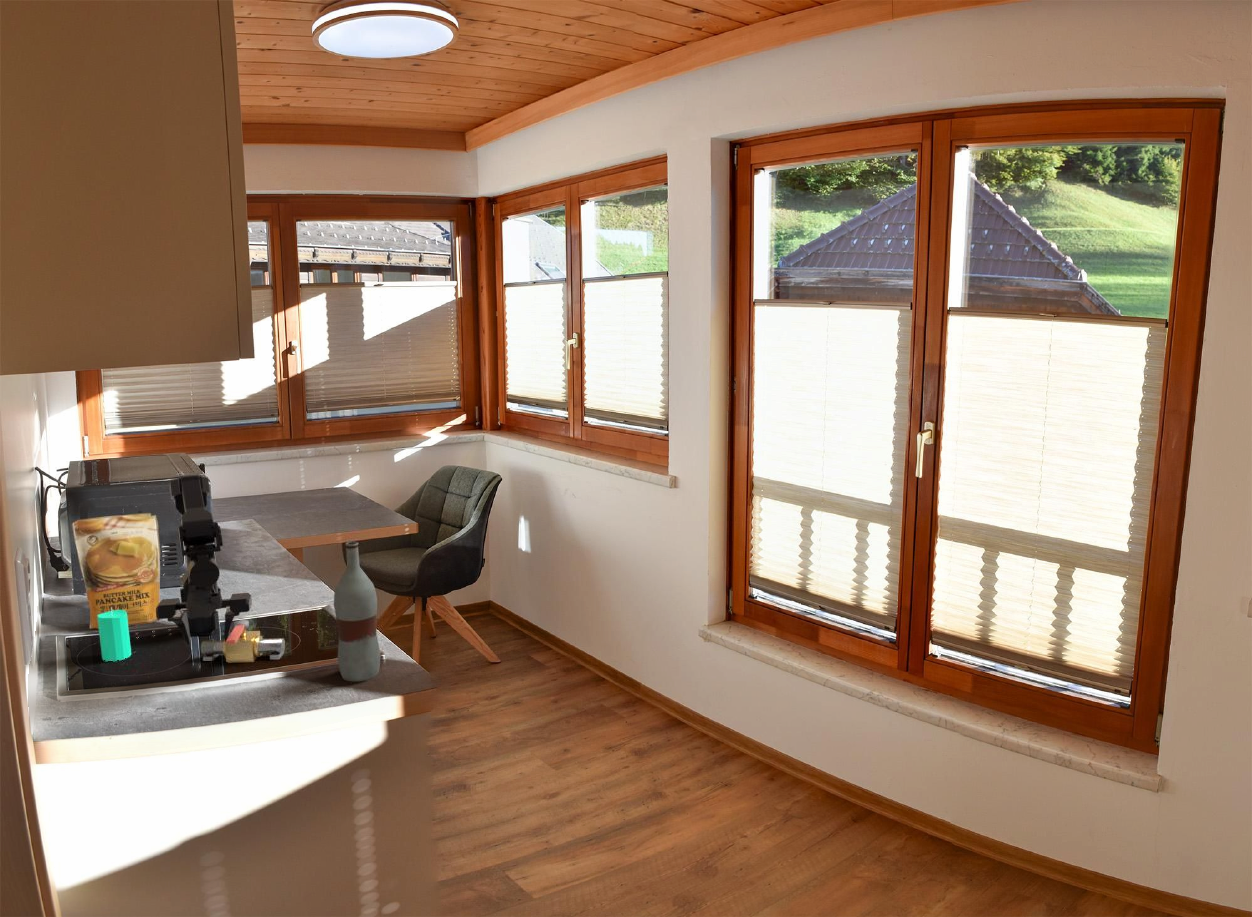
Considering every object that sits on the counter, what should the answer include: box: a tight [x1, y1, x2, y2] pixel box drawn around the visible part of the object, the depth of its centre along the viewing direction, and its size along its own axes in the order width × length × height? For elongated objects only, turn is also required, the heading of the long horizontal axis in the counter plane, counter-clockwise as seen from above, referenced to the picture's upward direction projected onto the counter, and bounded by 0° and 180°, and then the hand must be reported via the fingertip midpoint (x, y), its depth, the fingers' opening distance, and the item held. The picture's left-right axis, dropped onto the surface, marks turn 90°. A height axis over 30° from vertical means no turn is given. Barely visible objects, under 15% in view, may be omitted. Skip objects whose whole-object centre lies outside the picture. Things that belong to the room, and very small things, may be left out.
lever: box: [226, 619, 250, 644], centre depth 214 cm, size 12×3×1 cm, turn 10°
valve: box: [200, 628, 286, 664], centre depth 219 cm, size 18×6×7 cm, turn 94°
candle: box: [97, 607, 132, 662], centre depth 220 cm, size 6×6×12 cm
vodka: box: [333, 541, 382, 683], centre depth 207 cm, size 9×9×30 cm
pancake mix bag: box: [70, 512, 161, 630], centre depth 240 cm, size 7×19×28 cm, turn 115°
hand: (207, 642), depth 209 cm, fingers open, 7 cm apart
